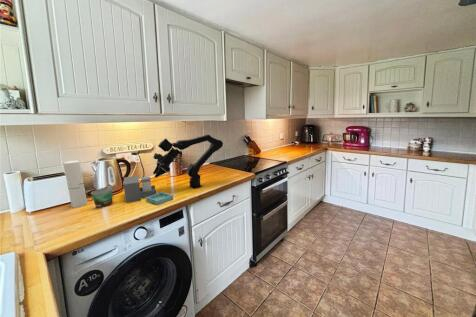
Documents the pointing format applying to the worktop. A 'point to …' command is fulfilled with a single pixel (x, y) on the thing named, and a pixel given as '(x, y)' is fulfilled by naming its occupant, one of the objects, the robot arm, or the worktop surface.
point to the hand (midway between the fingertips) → (154, 175)
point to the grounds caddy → (146, 183)
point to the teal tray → (159, 198)
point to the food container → (103, 196)
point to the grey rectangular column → (75, 183)
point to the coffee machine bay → (136, 190)
